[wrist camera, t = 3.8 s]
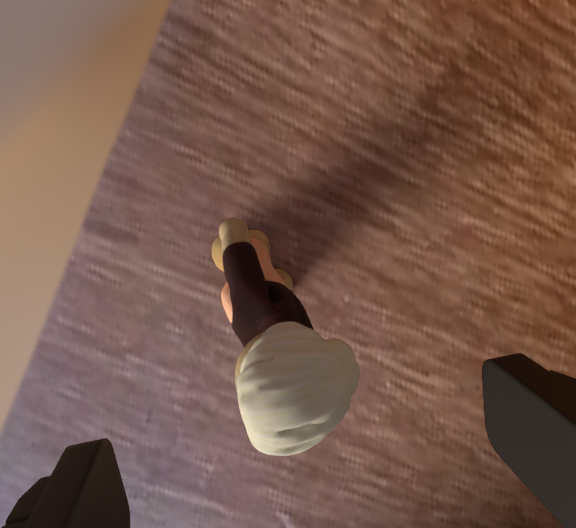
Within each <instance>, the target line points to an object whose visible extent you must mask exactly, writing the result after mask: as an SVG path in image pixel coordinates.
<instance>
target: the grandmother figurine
mask: <svg viewBox="0 0 576 528" xmlns="http://www.w3.org/2000/svg"><path fill="white" fill-rule="evenodd" d="M269 254H270V243H269V240H268V237H267V236H266V235H265V234H264V233H263V232H262V231H259V230H248V227H247V225H246V223H245V222H244V221H243V220H241V219H239V218H228V219H226V220H224V222H223V223H222V224H221V226H220V228H219V236H218V237H217V238H216V239H215V240H214V242H213V245H212V257H213V260H214V262H215V264H216V266H217V267H218V268H219V269H221V270H222V271H224V273H225V277H226V280H227V282H226V284H225V285H224V287H223V289H222V293H221V298H222V303H223V306H224V309H225V311H226V314H227V316H228V318H229V320H230V322H231V323H232V328H233V330H234V332H235V334H236V335H237V336H238V338H239V339H240V341H241V342H242V344H243V346H244V349H243V351H242V352H241V354H240V356H239V359H238V361H237V365H236V370H235V386H236V390H237V393H238V401H239V408H240V412H241V416H242V419H243V421H244V424H245V427H246V430H247V433H248V436H249V439H250V441H251V443H252V445H253V446H254V447H255V448H256V449H257V450H259V451H261V452H263V453H265V454H268V455H278V456H288V455H294V454H297V453H301V452H303V451H306V450H308V449H309V448H311V447H313V446H314V445H316V444H317V443H319V442H320V441H321V440H322V439H323V438H324V437H326V436H327V435H328V434H329V433H330V432H331V431H332V430H333V429H334V428H335V427H336V425H337V424H338V423H339V422H340V421H341V420H342V418H343V417H344V415H345V413H346V412H347V410H348V408H349V405H350V402H351V396H352V395H353V393H354V392H355V391H356V389H357V386H358V379H359V375H360V370H359V366H358V364H357V362H356V359H355V355H354V353H353V350H352V349H351V347H350V346H349V345H348V344H347V343H346V342H345V341H343V340H341V339H336V338H334V339H324V338H322V337H321V336H320V334H319V333H317V332H316V331H314V329H313V327H312V325H311V322H310V320H309V318H308V315H307V313H306V310H305V309H304V307H303V305H302V304H301V302H300V300H299V299H298V298H297V297H296V296H295V295H294V293H293V292H292V290H293V282H292V280H291V278H290V276H289V275H288V273H287V272H286V271H284V270H283V269H280V268H274V267H273V266H272V264H271V260H270V255H269Z"/></svg>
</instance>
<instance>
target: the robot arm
mask: <svg viewBox="0 0 576 528" xmlns="http://www.w3.org/2000/svg"><path fill="white" fill-rule="evenodd" d="M482 381H483V398H484V414H485V426H486V431H487V435H488V438H489V440H490V442H491V445H492V446H493V448H494V450H495V451H496V453H497V454H498V455H499V456H500V457H501V459H502V460H503V461H504V462H505V463H506V464H507V465H508V466H509V467H510V468H511V470H512V471H513V472H514V473H515V474H516V475H517V476H518V477H519V478H520V479H521V481H522V482H523V483H524V484H525V485H526V486H527V487H528V488H529V489H530V490H531V492H532V493H533V494H534V495H535V496H536V497H537V498H538V499H539V500H540V502H541V503H542V504H543V505H544V506H545V507H546V508H547V509H548V510H549V511H550V513H551V514H552V515H553V516H554V517H555V518H556V519H557V520H558V521H559V522H560V524H561V525H562V526H563V527H564V528H576V379H575V378H572V377H569V376H566V375H563V374H561V373H558V372H555V371H552V370H550V371H548V370H546V369H545V368H543V367H542V366H540V365H539V364H537V363H536V362H534V361H533V360H531V359H530V358H528V357H527V356H525V355H523V354H521V353H517V354H512V355H507V356H503V357H498V358H493V359H488V360H485V361H484V363H483V366H482ZM2 528H130V511H129V505H128V500H127V497H126V493H125V489H124V486H123V482H122V479H121V475H120V471H119V468H118V464H117V461H116V457H115V454H114V450H113V447H112V444H111V442H110V441H109V440H108V439H107V438H105V439H100V440H95V441H90V442H85V443H81V444H76V445H71V446H68V447H67V448H66V449H65V450H64V452H63V454H62V456H61V458H60V460H59V462H58V463H57V465H56V467H55V469H54V471H53V473H52V475H51V476H48V477H44V478H41V479H39V480H38V481H37V482H36V483H35V484H34V485H33V486H32V487H31V488H30V489H29V490H28V491H27V492H26V493H25V494H24V495H23V496H22V497H21V498H20V499H19V500H18V501H17V503H16V505H15V506H14V508H13V510H12V512H11V513H10V515H9V517H8V518H7V520H6V525H5V526H3V527H2Z"/></svg>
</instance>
